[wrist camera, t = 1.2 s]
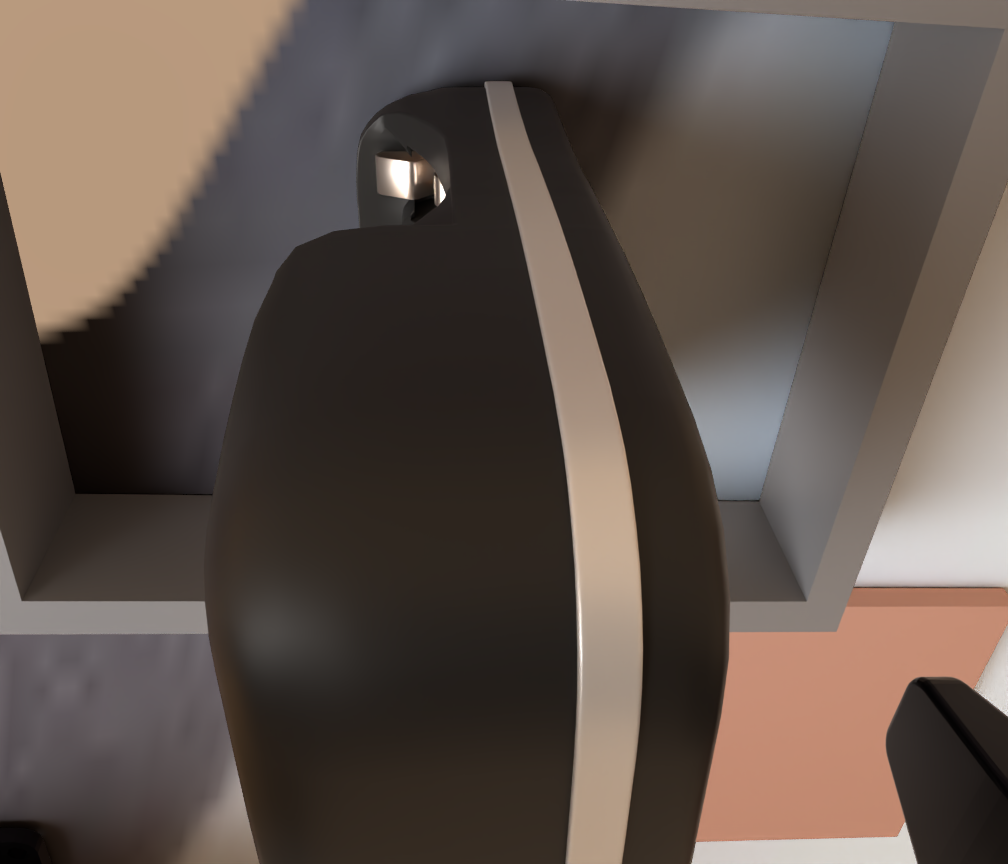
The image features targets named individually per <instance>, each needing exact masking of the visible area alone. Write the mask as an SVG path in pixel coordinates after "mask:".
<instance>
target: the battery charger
mask: <svg viewBox="0 0 1008 864" xmlns="http://www.w3.org/2000/svg"><path fill="white" fill-rule="evenodd" d="M356 187H357V203H358V216H359V228H357V229H349V230H340V231H333V232H331V233H328V234H326V235H324V236H321V237H319V238H316V239H314V240H311V241H309V242H307V243H304V244H302V245H299V246H297V247H295V249H294V250H293V251H292V253H291V254H290V255H289V256H288V258H287V259H286V260H285V261H284V263H283V264H282V265H281V267H280V268H279V269H278V270H277V272H276V274H275V277H274V280H273V282H272V284H271V286H270V288H269V290H268V293H267V295H266V297H265V299H264V301H263V303H262V305H261V307H260V309H259V312H258V314H257V316H256V318H255V320H254V324H253V327H252V330H251V333H250V337H249V340H248V343H247V347H246V350H245V353H244V357H243V360H242V364H241V368H240V372H239V376H238V380H237V384H236V388H235V392H234V396H233V400H232V405H231V409H230V414H229V418H228V423H227V427H226V432H225V436H224V441H223V446H222V451H221V456H220V461H219V466H218V471H217V476H216V481H215V486H214V491H213V496H212V501H211V507H210V513H209V519H208V525H207V533H206V545H205V557H204V591H205V608H206V617H207V626H208V634H209V640H210V646H211V651H212V656H213V661H214V667H215V672H216V676H217V680H218V685H219V689H220V694H221V698H222V703H223V707H224V712H225V716H226V721H227V725H228V730H229V734H230V739H231V743H232V748H233V752H234V757H235V761H236V766H237V770H238V775H239V779H240V784H241V788H242V793H243V797H244V802H245V806H246V811H247V815H248V819H249V823H250V827H251V831H252V835H253V839H254V843H255V847H256V851H257V855H258V859H259V863H260V864H691V862H692V858H693V853H694V848H695V843H696V838H697V833H698V828H699V823H700V818H701V813H702V808H703V803H704V799H705V794H706V789H707V784H708V779H709V774H710V769H711V764H712V759H713V754H714V749H715V744H716V739H717V734H718V729H719V724H720V719H721V714H722V706H723V699H724V692H725V684H726V677H727V670H728V662H729V632H730V589H729V578H728V568H727V557H726V547H725V536H724V528H723V524H722V519H721V514H720V509H719V504H718V499H717V495H716V490H715V485H714V480H713V475H712V471H711V467H710V464H709V461H708V458H707V455H706V452H705V449H704V446H703V443H702V440H701V437H700V434H699V431H698V428H697V425H696V422H695V419H694V417H693V414H692V412H691V409H690V407H689V404H688V402H687V399H686V397H685V394H684V392H683V389H682V387H681V384H680V382H679V380H678V377H677V375H676V372H675V370H674V367H673V365H672V362H671V360H670V358H669V355H668V353H667V350H666V348H665V346H664V343H663V341H662V338H661V336H660V333H659V331H658V329H657V326H656V324H655V322H654V319H653V317H652V315H651V312H650V310H649V308H648V305H647V303H646V301H645V298H644V296H643V294H642V291H641V289H640V287H639V285H638V282H637V280H636V278H635V276H634V274H633V271H632V269H631V267H630V265H629V263H628V261H627V258H626V256H625V254H624V252H623V250H622V248H621V246H620V244H619V242H618V240H617V238H616V236H615V233H614V231H613V229H612V227H611V225H610V223H609V221H608V219H607V217H606V216H605V214H604V212H603V209H602V207H601V205H600V204H599V202H598V200H597V198H596V196H595V194H594V192H593V190H592V188H591V186H590V184H589V183H588V181H587V179H586V177H585V175H584V174H583V172H582V170H581V168H580V166H579V164H578V161H577V159H576V157H575V155H574V153H573V150H572V148H571V145H570V143H569V140H568V138H567V135H566V133H565V130H564V128H563V125H562V123H561V120H560V118H559V115H558V113H557V110H556V108H555V105H554V102H553V101H552V99H551V97H550V95H549V94H547V93H545V92H544V91H542V90H540V89H538V88H531V87H513V85H512V82H511V81H486V82H485V84H484V87H443V88H439V89H435V90H431V91H428V92H423V93H417V94H412V95H409V96H406V97H404V98H402V99H399V100H397V101H395V102H393V103H391V104H389V105H387V106H385V107H384V108H383V109H381V110H380V111H379V112H377V113H376V114H375V115H374V117H373V118H372V119H371V120H370V121H369V122H368V124H367V125H366V127H365V129H364V130H363V132H362V134H361V137H360V141H359V146H358V152H357V171H356Z"/></svg>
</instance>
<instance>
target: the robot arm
mask: <svg viewBox="0 0 1008 864" xmlns="http://www.w3.org/2000/svg"><path fill="white" fill-rule="evenodd" d="M886 754H887V758H888V762H889V765H890V769H891V772H892V776H893V779H894V783H895V786H896V790H897V794H898V797H899V801H900V804H901V808H902V811H903V815H904V818H905V822H906V825H907V829H908V832H909V836H910V839H911V843H912V846H913V850H914V854H915V857H916V861H917V864H1008V716H1006V715H1005V714H1004V713H1003V712H1001V711H1000V710H999V709H998V708H996V707H995V706H994V705H993V704H991V703H990V702H989V701H987V700H986V699H985V698H984V697H982V696H981V695H980V694H979V693H977V692H976V691H975V690H973V689H972V688H971V687H970V686H968V685H967V684H966V683H964V682H963V681H961V680H959V679H957V678H954V677H917V678H915V679H913V680H912V681H911V682H910V683H909V684H908V686H907V687H906V690H905V692H904V694H903V696H902V698H901V701H900V703H899V705H898V707H897V709H896V711H895V714H894V716H893V718H892V720H891V722H890V725H889V727H888V729H887V733H886ZM0 864H52V863H51V860H50V857H49V854H48V851H47V848H46V846H45V843H44V840H43V838H42V836H41V835H40V834H39V833H37V832H35V831H33V830H30V829H27V828H0Z"/></svg>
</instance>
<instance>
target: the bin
mask: <svg viewBox="0 0 1008 864" xmlns="http://www.w3.org/2000/svg"><path fill="white" fill-rule="evenodd" d="M568 1H583V2H598V3H614V4H629V5H645V6H660V7H676V8H691V9H706V10H722V11H737V12H753V13H768V14H783V15H799V16H814V17H830V18H845V19H860V20H876V21H891V22H895V23H894V27H893V31H892V34H891V38H890V41H889V45H888V48H887V52H886V55H885V59H884V62H883V66H882V69H881V73H880V76H879V80H878V83H877V87H876V91H875V94H874V98H873V101H872V105H871V108H870V112H869V115H868V119H867V122H866V126H865V129H864V133H863V136H862V140H861V143H860V147H859V151H858V154H857V158H856V161H855V165H854V168H853V172H852V175H851V179H850V182H849V186H848V189H847V193H846V196H845V200H844V203H843V207H842V211H841V214H840V218H839V221H838V225H837V228H836V232H835V235H834V239H833V242H832V246H831V249H830V253H829V256H828V260H827V263H826V267H825V271H824V274H823V278H822V281H821V285H820V288H819V292H818V295H817V299H816V302H815V306H814V309H813V313H812V316H811V320H810V324H809V327H808V331H807V334H806V338H805V341H804V345H803V348H802V352H801V355H800V359H799V362H798V366H797V369H796V373H795V376H794V380H793V384H792V387H791V391H790V394H789V398H788V401H787V405H786V408H785V412H784V415H783V419H782V422H781V426H780V429H779V433H778V436H777V440H776V444H775V447H774V451H773V454H772V458H771V461H770V465H769V468H768V472H767V475H766V479H765V482H764V486H763V489H762V493H761V496H760V500H759V502H755V501H718V504H719V509H720V514H721V519H722V524H723V528H724V536H725V547H726V557H727V568H728V578H729V589H730V632H837V629H838V627H839V624H840V621H841V619H842V616H843V613H844V611H845V608H846V606H847V603H848V600H849V598H850V595H851V592H852V590H853V587H854V584H855V582H856V579H857V577H858V574H859V571H860V569H861V566H862V563H863V561H864V558H865V555H866V553H867V550H868V548H869V545H870V542H871V540H872V537H873V534H874V532H875V529H876V526H877V524H878V521H879V519H880V516H881V513H882V511H883V508H884V505H885V503H886V500H887V498H888V495H889V492H890V490H891V487H892V484H893V482H894V479H895V476H896V474H897V471H898V469H899V466H900V463H901V461H902V458H903V455H904V453H905V450H906V447H907V445H908V442H909V440H910V437H911V434H912V432H913V429H914V426H915V424H916V421H917V418H918V416H919V413H920V411H921V408H922V405H923V403H924V400H925V397H926V395H927V392H928V390H929V387H930V384H931V382H932V379H933V376H934V374H935V371H936V368H937V366H938V363H939V361H940V358H941V355H942V353H943V350H944V347H945V345H946V342H947V339H948V337H949V334H950V332H951V329H952V326H953V324H954V321H955V318H956V316H957V313H958V310H959V308H960V305H961V303H962V300H963V297H964V295H965V292H966V289H967V287H968V284H969V282H970V279H971V276H972V274H973V271H974V268H975V266H976V263H977V260H978V258H979V255H980V253H981V250H982V247H983V245H984V242H985V239H986V237H987V234H988V231H989V229H990V226H991V224H992V221H993V218H994V216H995V213H996V210H997V208H998V205H999V202H1000V200H1001V197H1002V195H1003V192H1004V189H1005V187H1006V184H1007V181H1008V0H568ZM212 496H213V495H135V494H75V490H74V486H73V482H72V477H71V473H70V469H69V464H68V460H67V456H66V452H65V447H64V443H63V439H62V435H61V430H60V426H59V422H58V417H57V413H56V409H55V405H54V400H53V396H52V392H51V388H50V383H49V379H48V375H47V370H46V366H45V362H44V358H43V353H42V349H41V345H40V340H39V336H38V332H37V328H36V323H35V319H34V315H33V311H32V306H31V302H30V298H29V294H28V289H27V285H26V281H25V277H24V272H23V268H22V264H21V260H20V256H19V251H18V246H17V242H16V238H15V234H14V229H13V225H12V221H11V217H10V213H9V208H8V204H7V200H6V196H5V191H4V187H3V182H2V178H1V174H0V634H208V626H207V617H206V608H205V591H204V557H205V545H206V533H207V525H208V519H209V513H210V507H211V501H212Z"/></svg>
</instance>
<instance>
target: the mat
mask: <svg viewBox="0 0 1008 864" xmlns="http://www.w3.org/2000/svg"><path fill="white" fill-rule="evenodd" d="M1007 624H1008V594H1007V593H1006V591H1005V590H1004V589H1003V588H853V590H852V592H851V595H850V598H849V600H848V603H847V606H846V608H845V611H844V613H843V616H842V619H841V621H840V624H839V627H838V629H837V632H729V662H728V670H727V677H726V684H725V692H724V699H723V706H722V714H721V719H720V724H719V729H718V734H717V739H716V744H715V749H714V754H713V759H712V764H711V769H710V774H709V779H708V784H707V789H706V794H705V799H704V803H703V808H702V813H701V818H700V823H699V828H698V833H697V838H696V842H703V841H742V840H780V839H819V838H858V837H897V836H898V834H899V832H900V830H901V828H902V826H903V824H904V822H905V818H904V815H903V811H902V808H901V804H900V801H899V797H898V794H897V790H896V786H895V783H894V779H893V776H892V772H891V769H890V765H889V762H888V758H887V754H886V733H887V729H888V727H889V725H890V722H891V720H892V718H893V716H894V714H895V711H896V709H897V707H898V705H899V703H900V701H901V698H902V696H903V694H904V692H905V690H906V687H907V686H908V684H909V683H910V682H911V681H912V680H913V679H915V678H917V677H954V678H957V679H959V680H961V681H963V682H964V683H966V684H967V685H968V686H970V687H971V688H972V689H974V687H975V686H976V684H977V682H978V680H979V678H980V676H981V674H982V672H983V670H984V668H985V666H986V664H987V663H988V661H989V659H990V657H991V655H992V653H993V651H994V649H995V647H996V645H997V643H998V641H999V639H1000V638H1001V636H1002V634H1003V632H1004V630H1005V628H1006V626H1007Z"/></svg>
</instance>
